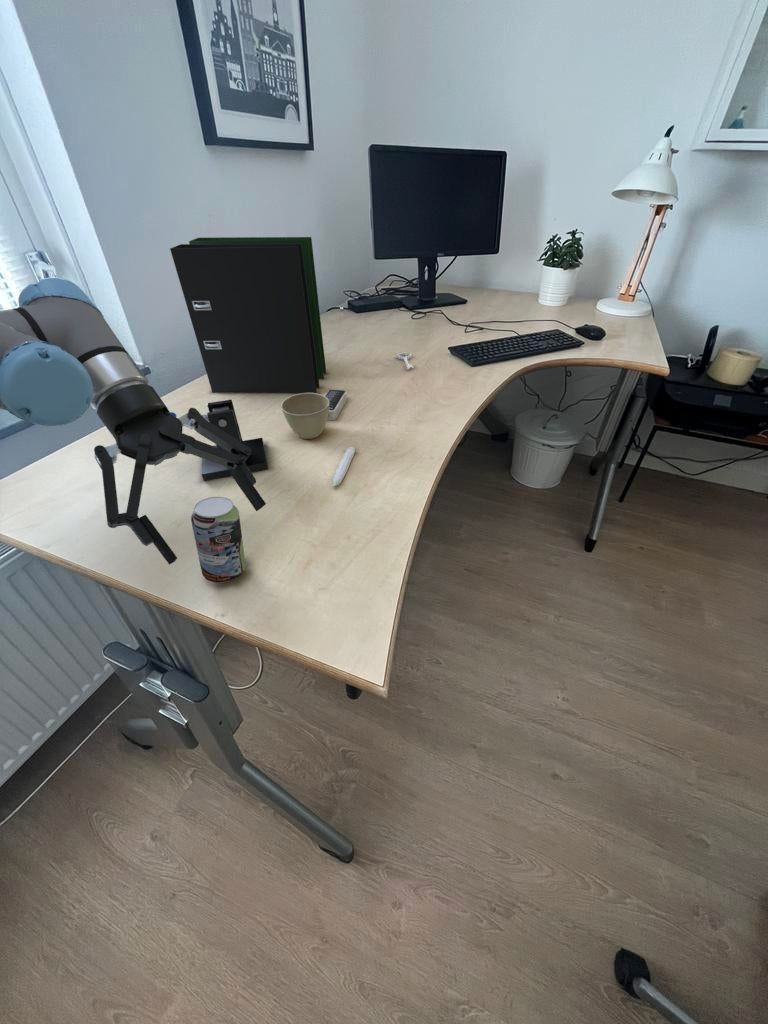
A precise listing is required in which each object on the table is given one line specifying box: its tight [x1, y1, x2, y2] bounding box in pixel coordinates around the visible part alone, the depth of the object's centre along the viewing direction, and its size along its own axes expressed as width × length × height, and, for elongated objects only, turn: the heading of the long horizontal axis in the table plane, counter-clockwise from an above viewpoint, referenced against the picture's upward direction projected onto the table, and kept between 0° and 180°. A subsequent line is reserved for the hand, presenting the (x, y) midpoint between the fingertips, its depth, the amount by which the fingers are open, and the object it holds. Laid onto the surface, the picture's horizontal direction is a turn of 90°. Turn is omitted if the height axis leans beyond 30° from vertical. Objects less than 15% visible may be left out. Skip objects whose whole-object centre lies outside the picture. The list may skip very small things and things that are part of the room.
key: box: [396, 351, 414, 371], centre depth 124 cm, size 12×1×4 cm
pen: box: [332, 446, 356, 487], centre depth 83 cm, size 2×14×2 cm, turn 169°
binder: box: [169, 236, 327, 394], centre depth 105 cm, size 27×15×32 cm, turn 84°
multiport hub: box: [324, 389, 348, 421], centre depth 102 cm, size 4×11×2 cm, turn 169°
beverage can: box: [190, 496, 247, 584], centre depth 60 cm, size 6×7×12 cm
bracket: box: [201, 399, 269, 482], centre depth 83 cm, size 12×10×12 cm
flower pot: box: [280, 392, 329, 440], centre depth 92 cm, size 10×10×7 cm
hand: (220, 533), depth 58 cm, fingers open, 13 cm apart
